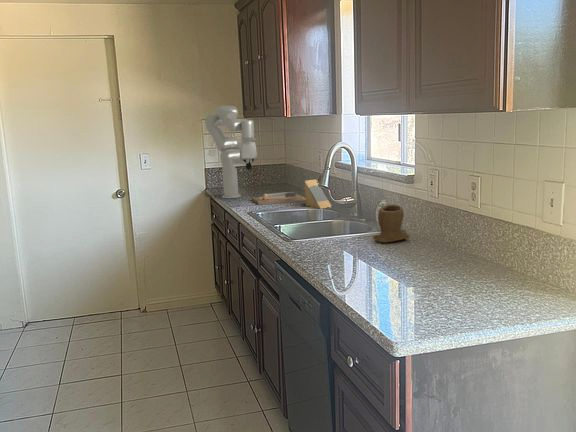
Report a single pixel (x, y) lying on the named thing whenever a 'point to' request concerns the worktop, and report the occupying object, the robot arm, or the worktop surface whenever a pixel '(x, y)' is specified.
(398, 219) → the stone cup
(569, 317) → the worktop surface
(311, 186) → the sandwich container
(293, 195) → the tongs lower arm
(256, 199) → the walnut cutting board
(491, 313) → the worktop surface
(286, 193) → the upper tong arm
